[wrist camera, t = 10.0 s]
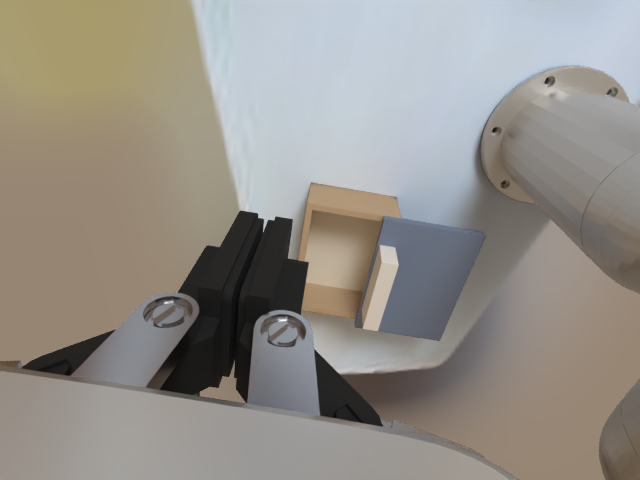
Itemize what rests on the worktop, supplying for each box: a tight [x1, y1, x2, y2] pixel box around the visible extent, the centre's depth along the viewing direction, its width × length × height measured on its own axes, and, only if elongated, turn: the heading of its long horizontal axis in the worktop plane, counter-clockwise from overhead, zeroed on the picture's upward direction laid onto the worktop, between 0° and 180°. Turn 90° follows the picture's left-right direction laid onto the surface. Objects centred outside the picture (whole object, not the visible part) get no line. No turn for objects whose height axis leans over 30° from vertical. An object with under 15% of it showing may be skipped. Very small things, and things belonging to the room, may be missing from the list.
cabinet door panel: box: [355, 216, 485, 341], centre depth 37 cm, size 9×13×4 cm
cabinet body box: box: [298, 183, 402, 319], centre depth 41 cm, size 9×13×5 cm
